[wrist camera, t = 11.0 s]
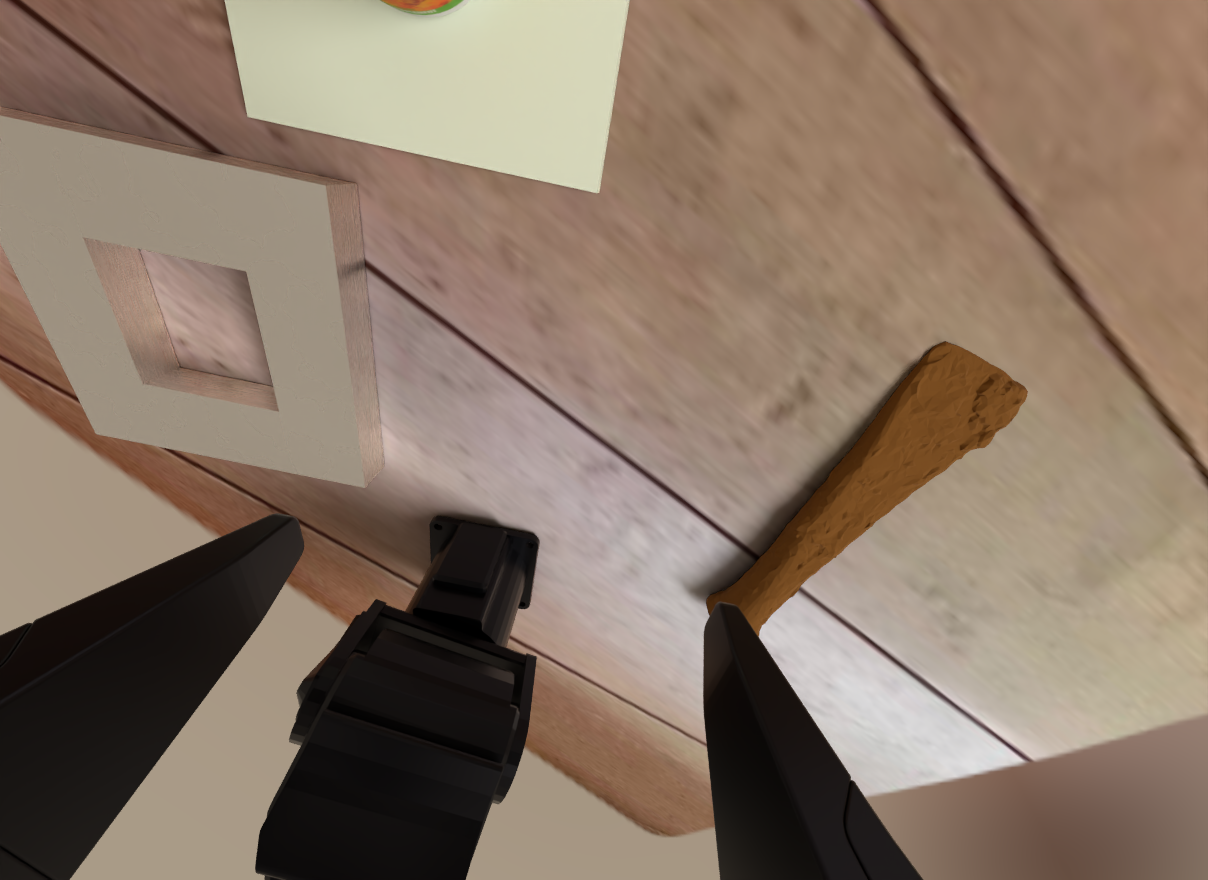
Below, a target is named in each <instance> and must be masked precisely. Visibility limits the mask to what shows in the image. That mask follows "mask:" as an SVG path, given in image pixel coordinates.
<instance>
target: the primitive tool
mask: <svg viewBox="0 0 1208 880" xmlns="http://www.w3.org/2000/svg"><path fill="white" fill-rule="evenodd" d="M1027 392H1028V391H1027V390H1026V388H1025V387H1024V386H1023V385H1021V384H1020V383H1018V382H1015V381H1014V380H1012V379H1011V377H1010V376H1009V375H1007V374H1006V373H1005V372H1004V371H1003V370H1001V369H999V368H997V367H995V366H993V365H991V364H989V363H988V362H986V361H985V360H983V359H982V358H980V357H978V356H977V355H975V354H973V353H971V352H969V351H967V350H965V349H963V348H961V347H959V346H956V345H952V344H950V343H948V342H943V343H941V344H938V345H936V346H934V347H933V348H932V349H931V350H930V352H929V353H928V354H927V355H926V356H925V357H923V359H922V360H921V361H920V362H919V363H918V364H917V366H916V367H915V368H914V369H913V370H912V372H911V373H910V374H909V375H908V376H907V377H906V378H905V380H904V381H903V382H902V383H901V384H900V386H899V387H898V388H897V389H896V391H895V392H894V393H893V395H892V396H891V397H890V399H889V400H888V401H887V403H886V404H885V405H884V406H883V408H882V409H881V410H880V412H879V413H878V415H877V416H876V418H875V419H874V420H873V422H872V423H871V424H870V426H869V427H868V428H867V429H866V431H865V432H864V433H863V435H862V436H861V438H860V439H859V440H858V441H857V443H856V444H855V445H854V447H853V448H852V449H851V450H850V451H849V452H848V453H847V454H846V456H845V457H844V458H843V459H842V460H841V462H840V463H839V464H838V465H837V466H836V467H835V468H834V469H833V470H832V471H831V473H830V476H829V477H828V478H827V480H826V481H825V482H824V483H823V484H822V485H821V486H820V487H819V488H818V489H817V490H816V491H815V493H814V494H813V495H812V497H811V498H810V499H809V501H808V502H807V503H806V504H805V505H804V506H803V507H802V509H801V510H800V511H799V512H798V513H797V515H796V516H795V517H794V518H793V519H792V521H791V522H789V523H788V524H787V525H786V527H785V529H784V530H783V531H782V533H781V534H780V535H779V537H778V538H777V539H776V541H775V542H774V543H773V544H772V546H771V547H770V548H769V549H768V551H767V552H766V553H765V554H763V555H762V556H761V557H760V558H759V559H758V561H757V562H756V563H755V564H754V565H753V566H752V568H750V569H749V570H748V571H747V572H746V573H745V574H744V575H743V576H742V577H741V579H739V580H738V581H737V582H736V583H735V584H733V585H732V586H730V587H728V588H727V589H726V590H725V591H719V592H717V593H715V594H711V595H710V596H709V597H708V598H707V601H706V604H707V609H708V613H709V615H711V613H712V611H713V609H714V607H715V605H716V603H718V602H725V603H730V604H734V605H736V606H738V607H739V608H740V610H741V611H742V613H743V614H744V616H745V617H746V619H747V620H748V622H749V623H750V625H751V626H752V628H753V629H754V631H755V633H756V634H757V636H759V631H760V629H761V626H762V625H763V624H765V623H766V621H767V620H768V619H769V617H770V616H771V615H772V614H773V613H774V612H775V611H776V610H777V609H778V608H780V607H781V606H782V605H783V604H784V603H785V602H786V601H787V600H788V599H789V598H790V597H793V596H794V595H795V594H796V592H797V591H798V590H799V588H800V586H801V585H802V584H803V583H804V582H805V581H806V580H807V579H808V578H809V577H810V576H812V575H814V574H815V573H816V572H817V571H818V570H819V569H820V568H821V567H823V566H824V565H826V564H827V563H828V562H830V561H831V560H832V559H833V558H836V556H837V555H838V554H840V553H841V552H842V551H843V550H844V549H845V548H846V547H847V546H848V545H849V544H850V543H851V542H853V541H854V540H855V539H857V538H858V537H859V536H861V535H862V534H863V533H864V532H865V531H866V530H868V529H869V528H870V527H872V526H873V524H874V523H875V522H876V521H877V520H879V519H880V518H881V517H883V516H884V515H886V514H887V513H889V512H890V511H891V510H892V509H893V508H894V507H895V506H896V505H898V504H899V503H901V502H902V501H904V500H905V499H906V498H907V497H908V496H910V495H911V493H913V492H914V491H916V490H917V489H919V488H920V487H922V486H923V485H925V484H926V483H927V482H928V481H930V480H931V479H932V478H934V477H935V476H937V475H939V474H940V473H942V472H943V471H945V470H946V469H947V468H948V467H949V466H950V465H951V464H952V463H954V462H955V461H956V460H958V459H962V457H963V456H964V455H965V454H966V453H967V452H969V451H970V450H973V449H977V448H985V447H986V446H987V445H988V444H989V443H990V442H991V440H992V439H993V437H994V435H995V433H996V432H997V431H999V430H1000V429H1002V428H1004V427H1006V426H1007V425H1008V424H1009V423H1010V422H1011V421H1012V419H1013V418H1014V417H1015V416H1016V414H1017V413H1018V411H1019V408H1020V406H1021V405H1022V404H1023V403H1024V402H1025V400H1026V397H1027Z"/></svg>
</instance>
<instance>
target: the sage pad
mask: <svg viewBox="0 0 1208 880" xmlns="http://www.w3.org/2000/svg"><path fill="white" fill-rule="evenodd" d="M629 1H630V0H470V1H469V2H468V3H467V4H466V5H464V6H463V7H462V8H460V9H458V10H457V11H455V12H452V13H450V14H447V15H444V16H439V17H418V16H413V15H409V14H406V13H404V12H401V11H399V10H397V9H395V8H393V7H391V6H389V5H387V4H386V3H384V2H382V1H381V0H225V5H226V10H227V15H228V20H229V25H230V30H231V35H232V40H233V45H234V50H235V55H236V60H237V65H238V71H239V76H240V81H241V86H242V91H243V96H244V101H245V106H246V111H247V116H248V117H250V118H255V119H260V120H264V121H269V122H273V123H278V124H283V125H287V126H292V127H296V128H301V129H305V130H310V131H315V132H319V133H324V134H328V135H333V136H337V137H342V138H347V139H351V140H356V141H360V142H365V143H370V144H374V145H379V146H383V147H388V148H392V149H397V150H402V151H406V152H411V153H415V154H420V155H425V156H429V157H434V158H438V159H443V160H447V161H452V162H457V163H461V164H466V165H470V166H475V167H480V168H484V169H489V170H493V171H498V172H502V173H507V174H512V175H516V176H521V177H525V178H530V179H535V180H539V181H544V182H548V183H553V184H557V185H562V186H567V187H571V188H576V189H580V190H585V191H589V192H594V193H599V191H600V185H601V178H602V172H603V165H604V159H605V153H606V146H607V140H608V134H609V127H610V121H611V115H612V108H613V102H614V96H615V89H616V83H617V77H618V70H619V64H620V58H621V51H622V45H623V39H624V32H625V26H626V20H627V13H628V7H629Z"/></svg>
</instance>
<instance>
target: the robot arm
mask: <svg viewBox="0 0 1208 880" xmlns="http://www.w3.org/2000/svg"><path fill="white" fill-rule="evenodd" d="M439 524H440V525H439ZM529 542H531V543H533V544H531V543H529ZM539 543H540V541H539V539H538V537H537V536H535V535H532V534H527V533H522V532H517V531H512V530H507V529H502V528H497V527H492V526H487V525H482V524H477V523H472V522H467V521H462V520H457V519H452V518H447V517H442V516H436V517H434V518H433V519H432V521H431V523H430V548H431V565H430V567H429V569H428V571H427V572H426V574H425V576H424V578H423V580H422V581H421V583H420V585H419V587H418V589H417V591H416V592H415V594H414V596H413V598H412V600H411V602H410V603H409V605H408V607H407V609H406V611H402V610H399V609H396V608H394V607H391V606H388V605H386V603H385V602H383V601H380V600H377V599H376V600H375V601H374V602H373V604H372V605H371V606H370V608H369V609H368V610H367V612H365V611H363V612H362V613H361V615H356V617H355V618H354V620H353V621H352V623H351V624H350V626H349V627H348V629H347V630H346V632H345V634H344V635H343V636H342V638H341V640H340V641H339V642H338V643H337V645H336V646H335V647H334V648H333V649H332V650H331V651H330V653H329V654H328V655H327V656H326V657H325V658H324V659H323V660H322V661H321V662H320V663H319V664H318V665H317V666H316V667H315V668H314V669H313V670H312V671H311V672H310V674H309V675H308V676H307V677H306V678H305V679H304V680H303V681H302V683H301V685H300V686H299V688H298V690H297V697H298V701H299V706H300V708H299V710H298V713H297V716H296V722H295V724H294V727H293V729H292V732H291V735H290V738H289V742H291V743H294V744H297V745H301V747H300V749H299V751H298V753H297V755H296V757H295V759H294V761H293V762H292V764H291V766H290V768H289V770H288V772H287V774H286V776H285V778H284V780H283V782H282V784H281V786H280V787H279V790H278V791H277V793H276V795H275V797H274V799H273V801H272V803H271V805H270V807H269V810H268V813H267V818H266V820H265V822H264V824H263V826H262V828H261V830H260V834H259V841H258V849H257V857H256V866H255V870H256V873H258V874H262V875H265V880H466V876H467V873H468V870H469V867H470V863H471V860H472V857H473V854H474V852H475V849H476V846H477V843H478V840H479V838H480V835H481V832H482V829H483V826H484V823H485V821H486V818H487V815H488V812H489V809H490V807H491V804H492V803H496V804H499V803H501V802H502V801H503V799H504V798H505V796H506V794H507V792H508V790H509V788H510V786H511V784H512V781H513V779H514V776H515V774H516V771H517V768H518V765H519V762H520V759H521V756H522V753H523V749H524V745H525V742H526V737H527V732H528V727H529V720H530V711H531V702H532V694H533V685H534V676H535V667H536V659H537V657H536V656H533V655H530V654H528V653H527V654H526V655H525V654H522V653H519V652H517V651H514V650H511V649H508V648H506V647H507V643H508V640H509V636H510V633H511V630H512V626H513V623H514V620H515V616H516V613H517V610H518V608H519V609H527V608H528V607H529V605H530V602H531V596H532V589H533V583H534V576H535V569H536V563H537V556H538V549H539ZM303 550H304V541H303V537H302V533H301V529H300V525H299V521H298V519H297V518H296V517H293V516H289V515H284V514H272V515H269V516H267V517H265V518H262V519H260V520H258V521H256V522H254V523H251V524H249V525H247V526H245V527H242V528H240V529H238V530H236V531H233V532H231V533H229V534H227V535H224V536H222V537H220V538H218V539H215V540H213V541H211V542H209V543H206V544H204V545H202V546H200V547H198V548H195V549H193V550H191V551H189V552H186V553H184V554H182V555H180V556H177V557H175V558H173V559H171V560H168V561H166V562H164V563H162V564H159V565H157V566H155V567H153V568H150V569H148V570H146V571H144V572H142V573H139V574H137V575H135V576H133V577H130V578H128V579H126V580H124V581H121V582H119V583H117V584H115V585H112V586H110V587H108V588H106V589H103V590H101V591H99V592H97V593H94V594H92V595H90V596H88V597H86V598H83V599H81V600H79V601H77V602H74V603H72V604H70V605H68V606H66V607H63V608H61V609H59V610H56V611H54V612H52V613H50V614H47V615H45V616H43V617H41V618H38V619H36V620H35V621H34V622H33V623H27V624H25V625H22V626H20V627H18V628H16V629H14V630H11V631H9V632H7V633H5V634H3V635H0V880H70V878H71V877H72V876H73V874H74V873H75V872H76V870H77V869H78V868H79V866H80V865H81V864H82V862H83V861H84V860H85V858H86V857H87V856H88V854H89V853H90V851H91V850H92V849H93V848H94V846H95V845H96V843H97V842H98V841H99V839H100V838H101V837H102V835H103V834H104V833H105V831H106V830H107V829H108V827H109V826H110V825H111V823H112V822H113V821H114V819H115V818H116V817H117V815H118V814H119V812H120V811H121V810H122V808H123V807H124V806H125V804H126V803H127V802H128V800H129V799H130V798H131V796H132V795H133V794H134V792H135V791H136V790H137V788H138V787H139V786H140V784H141V783H142V782H143V780H144V779H145V778H146V776H147V775H148V774H149V772H150V771H151V770H152V768H153V767H154V766H155V764H156V763H157V761H158V760H159V759H160V757H161V756H162V755H163V753H164V752H165V751H166V749H167V748H168V747H169V745H170V744H171V743H172V741H173V740H174V739H175V737H176V736H177V735H178V733H179V732H180V731H181V729H182V728H183V726H184V725H185V724H186V723H187V721H188V720H189V719H190V717H191V716H192V714H193V713H194V712H195V710H196V709H197V708H198V706H199V705H200V704H201V702H202V701H203V700H204V698H205V697H206V696H207V694H208V693H209V692H210V690H211V689H212V688H213V686H214V685H215V684H216V682H217V681H218V679H219V678H220V677H221V676H222V674H223V673H224V671H225V670H226V669H227V667H228V666H229V665H230V663H231V662H232V661H233V659H234V658H235V657H236V655H237V654H238V653H239V651H240V650H241V649H242V647H243V646H244V645H245V643H246V642H247V641H248V639H249V638H250V637H251V635H252V634H253V632H254V631H255V630H256V628H257V627H258V625H259V624H260V623H261V621H262V620H263V618H264V616H265V615H266V613H267V612H268V610H269V609H270V607H271V605H272V604H273V602H274V600H275V599H276V597H277V595H278V594H279V592H280V590H281V589H282V587H283V585H284V584H285V582H286V580H287V579H288V577H289V575H290V574H291V572H292V570H293V569H294V567H295V565H296V564H297V562H298V560H299V559H300V557H301V555H302V553H303ZM703 704H704V721H705V731H706V741H707V751H708V761H709V771H710V781H711V791H712V801H713V811H714V821H715V831H716V841H717V851H718V861H719V870H720V871H719V872H720V880H923V879H922V877H921V876H920V874H919V873H918V872H917V870H916V869H915V868H914V866H913V865H912V864H911V862H910V861H909V860H908V858H907V857H906V855H905V854H904V853H903V851H902V850H901V849H900V847H899V846H898V845H897V844H896V842H895V841H894V839H893V838H892V836H891V835H890V833H889V832H888V831H887V829H886V828H885V826H884V825H883V823H882V822H881V820H880V819H879V817H878V816H877V814H876V813H875V812H874V810H873V809H872V807H871V806H870V804H869V803H868V801H867V800H866V798H865V797H864V795H863V794H862V792H861V791H860V789H859V788H858V786H857V785H856V783H855V782H854V781H853V780H851V776H850V774H849V773H848V771H847V770H846V768H845V767H844V765H843V764H842V762H841V761H840V759H839V758H838V756H837V755H836V753H835V752H834V750H833V749H832V747H831V746H830V744H829V743H828V741H827V740H826V738H825V737H824V735H823V734H822V732H821V731H820V729H819V728H818V726H817V725H816V723H815V722H814V720H813V719H812V717H811V716H810V714H809V713H808V711H807V709H806V708H805V706H804V705H803V703H802V702H801V700H800V699H799V697H798V696H797V694H796V693H795V691H794V690H793V688H792V687H791V685H790V684H789V682H788V681H787V679H786V678H785V676H784V675H783V673H782V672H781V670H780V669H779V667H778V666H777V664H776V663H775V661H774V660H773V658H772V657H771V655H770V654H769V652H768V651H767V649H766V648H765V646H764V645H763V643H762V642H761V640H760V639H759V637H758V636H757V634H756V633H755V631H754V629H753V628H752V626H751V625H750V623H749V622H748V620H747V619H746V617H745V616H744V614H743V613H742V611H741V610H740V608H739V607H738V606H736V605H734V604H730V603H725V602H718V603H716V605H715V607H714V609H713V611H712V613H711V615H710V617H709V619H708V621H707V623H706V625H705V629H704V680H703Z"/></svg>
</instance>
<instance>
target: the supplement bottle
mask: <svg viewBox="0 0 1208 880" xmlns="http://www.w3.org/2000/svg"><path fill="white" fill-rule="evenodd" d="M381 1H382V2H384V3H386V4H387V5H389V6H391V7H393V8H395V9H397V10H399V11H401V12H404V13H406V14H409V15H413V16H418V17H439V16H444V15H447V14H450V13H452V12H455V11H457V10H458V9H460V8H462V7H463V6H464V5H466V4H467V3H468V2H469V1H470V0H381Z"/></svg>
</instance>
